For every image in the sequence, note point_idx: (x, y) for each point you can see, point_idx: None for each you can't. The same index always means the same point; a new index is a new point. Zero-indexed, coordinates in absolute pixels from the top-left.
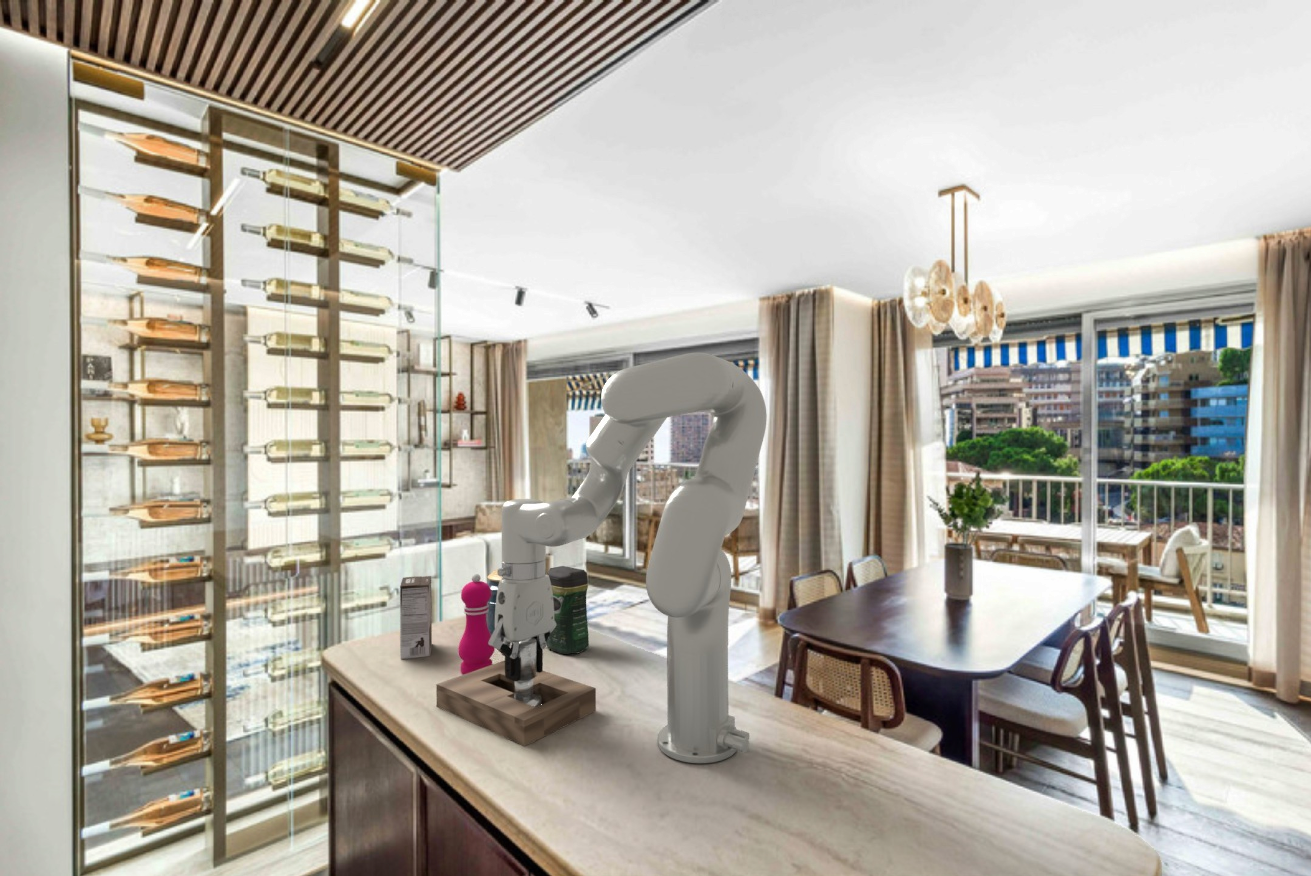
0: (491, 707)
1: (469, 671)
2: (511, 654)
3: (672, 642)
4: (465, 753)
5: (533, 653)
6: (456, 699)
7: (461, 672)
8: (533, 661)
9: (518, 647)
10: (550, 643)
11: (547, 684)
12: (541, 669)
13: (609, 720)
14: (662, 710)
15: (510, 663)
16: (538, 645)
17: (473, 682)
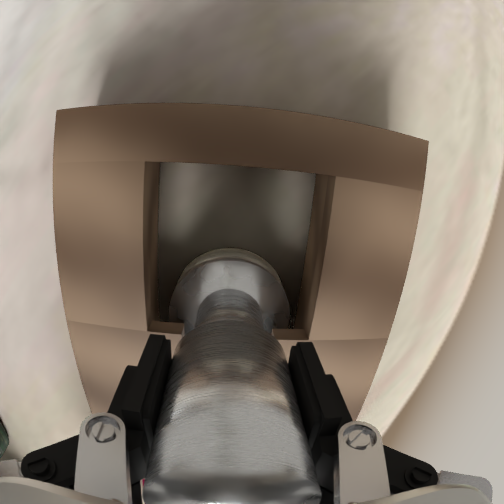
0: (396, 309)
1: None
2: (380, 442)
3: None
4: (458, 244)
5: (220, 409)
6: None
7: None
8: (221, 373)
9: (315, 478)
10: (2, 440)
11: (139, 296)
12: (155, 338)
13: (125, 41)
14: (27, 4)
15: (349, 414)
16: (130, 446)
17: None
